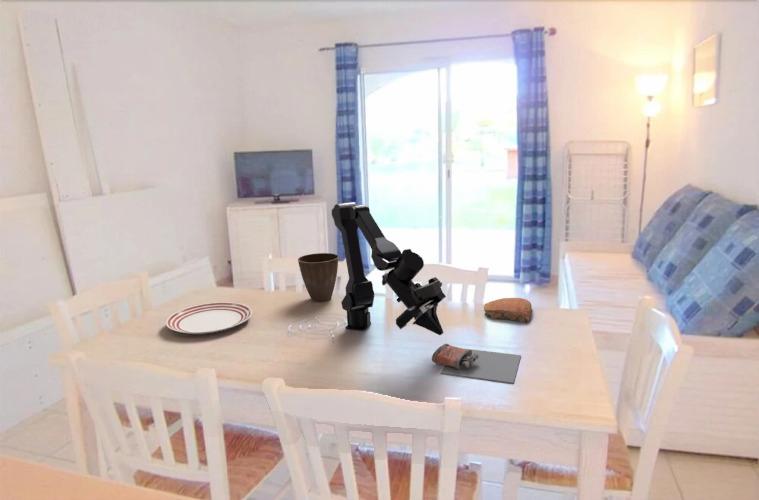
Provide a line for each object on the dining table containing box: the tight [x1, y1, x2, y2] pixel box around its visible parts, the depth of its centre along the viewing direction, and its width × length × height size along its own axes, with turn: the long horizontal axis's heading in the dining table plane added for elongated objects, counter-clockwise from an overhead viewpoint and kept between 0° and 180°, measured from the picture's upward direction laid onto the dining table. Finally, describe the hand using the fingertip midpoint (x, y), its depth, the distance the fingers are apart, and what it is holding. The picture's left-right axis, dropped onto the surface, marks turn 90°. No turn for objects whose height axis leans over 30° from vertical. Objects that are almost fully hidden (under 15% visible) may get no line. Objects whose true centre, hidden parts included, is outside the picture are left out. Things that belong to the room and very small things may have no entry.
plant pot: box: [297, 252, 340, 303], centre depth 189 cm, size 15×15×16 cm
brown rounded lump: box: [483, 297, 532, 323], centre depth 168 cm, size 15×6×15 cm
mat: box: [439, 347, 522, 385], centre depth 132 cm, size 18×16×1 cm
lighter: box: [431, 343, 479, 369], centre depth 132 cm, size 8×3×10 cm
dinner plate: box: [165, 301, 253, 335], centre depth 169 cm, size 28×27×3 cm
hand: (441, 334), depth 134 cm, fingers closed
